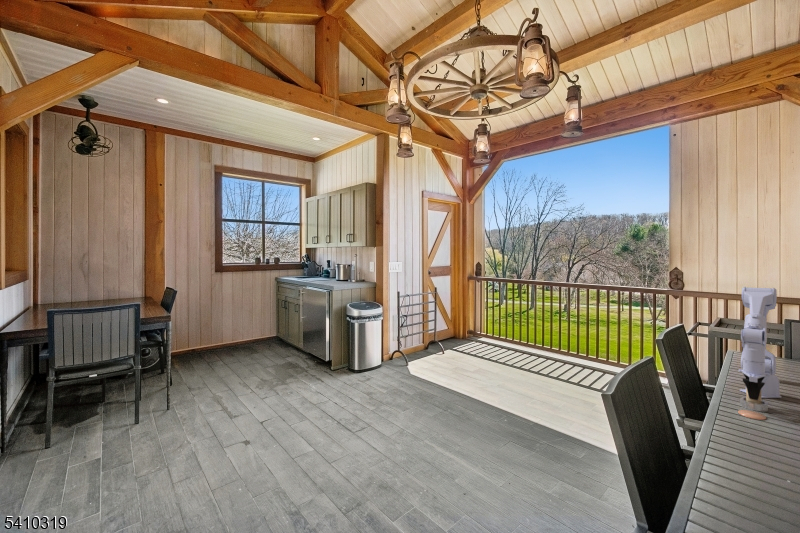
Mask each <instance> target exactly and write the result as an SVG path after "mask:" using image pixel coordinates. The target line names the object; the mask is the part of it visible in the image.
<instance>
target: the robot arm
mask: <svg viewBox="0 0 800 533" xmlns="http://www.w3.org/2000/svg"><path fill="white" fill-rule="evenodd" d="M777 295H778V291H777V289H776V288H775V287H771V288H770V287H749V286H747V287H746V286H743V287H742V288H741V301H742V305H743V306H744V307H745V308H747V309H749V313H748V314H746V315H745V317H744V323H743V324H744V325H743V328H741V331H740V340H741V348H742V352H741V357H740V368H741V369H740V368H738V373H742V374H743V376H744V377H745V378H744V377H743V378H742V382H743V383H744V385H745V388H743V389H742V388H741V389H739V391H740V392H742V393H745V394H746V387H747V391H748V395H749V398H750V399H754V400H758V398H759V394H760V391H761V399H773V398H774V399H775V398H776V399H777V398H778V399H779V398H782V396H781V394H780V379H779V377H778V376H777V375H776V374H777V360H776V359H777V358H776V356H775V354H773V353H772V352H770V351H769V350H768V349H767V343H768V342H767V341H768V334H767V326H768V325H767V320H768V317H767V316H768V314H769V311H772V310H774V309H776V307H777V300H778V299H777ZM765 357H768V358H765ZM774 374H775V375H774Z"/></svg>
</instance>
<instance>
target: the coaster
mask: <svg viewBox="0 0 800 533" xmlns="http://www.w3.org/2000/svg"><path fill="white" fill-rule="evenodd" d="M737 414H739V415H741V416H742V417H744V418H748V419H751V420H755V421H757V420H758V421H765V420H767V417H766V415H764V414H762V413H760V412H758V411H754V410H750V409H739V410H737Z"/></svg>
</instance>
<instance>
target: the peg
mask: <svg viewBox="0 0 800 533" xmlns="http://www.w3.org/2000/svg"><path fill="white" fill-rule="evenodd" d="M745 389H746V393H745V397H746V401H748V402H751V403H756V404H761V400H762V398H761V391H760V394H759V398H758V400H754V399H750V398H749V395H748V391H747V387H746V386H745Z"/></svg>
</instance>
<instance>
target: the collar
mask: <svg viewBox="0 0 800 533" xmlns="http://www.w3.org/2000/svg"><path fill="white" fill-rule="evenodd" d="M739 405H740V406H741V407H742V408H745V410H749V411H754V412H759V413H760V412H761V413H762V412H768V411H769V403H768V402H767V401H765V400H762V399H761V404H756V403H751V402H748V401H746V396H742V397H740V398H739Z"/></svg>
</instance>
